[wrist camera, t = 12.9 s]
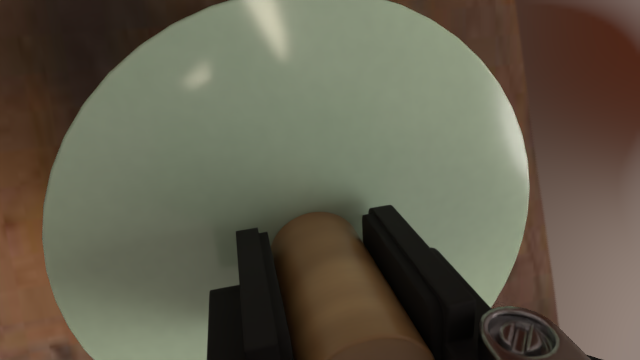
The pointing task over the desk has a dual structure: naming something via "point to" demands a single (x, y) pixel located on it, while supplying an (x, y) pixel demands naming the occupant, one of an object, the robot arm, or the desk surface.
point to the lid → (280, 176)
